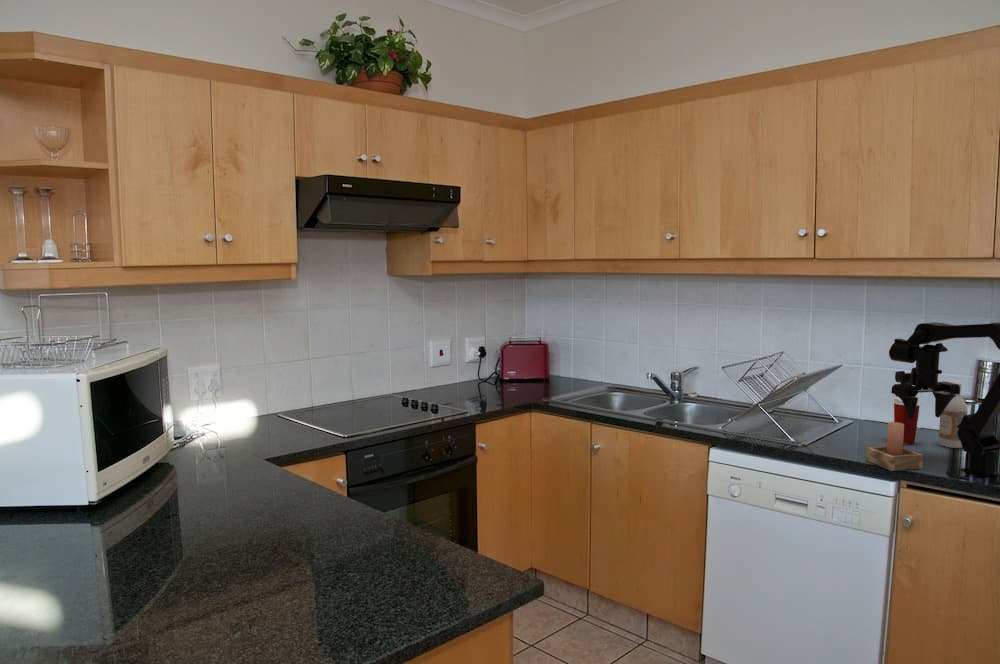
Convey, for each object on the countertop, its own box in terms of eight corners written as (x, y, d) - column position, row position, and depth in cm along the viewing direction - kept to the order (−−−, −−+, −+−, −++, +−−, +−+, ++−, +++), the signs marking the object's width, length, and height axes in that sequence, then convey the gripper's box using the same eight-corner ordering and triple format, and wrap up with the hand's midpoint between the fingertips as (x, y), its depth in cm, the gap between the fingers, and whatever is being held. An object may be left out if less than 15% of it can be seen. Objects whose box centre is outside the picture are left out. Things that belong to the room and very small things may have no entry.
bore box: (922, 468, 198) (923, 454, 198) (891, 471, 196) (892, 457, 196) (895, 458, 208) (896, 445, 207) (865, 460, 206) (866, 447, 205)
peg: (905, 466, 200) (907, 425, 199) (892, 467, 200) (895, 425, 198) (894, 462, 204) (897, 421, 203) (882, 463, 203) (884, 422, 202)
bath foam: (933, 443, 223) (937, 381, 221) (949, 441, 225) (953, 380, 223) (953, 449, 217) (957, 385, 214) (970, 447, 219) (974, 384, 216)
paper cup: (920, 441, 226) (923, 398, 224) (915, 446, 220) (917, 402, 218) (893, 437, 231) (895, 395, 229) (887, 442, 225) (889, 399, 224)
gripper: (932, 360, 215) (929, 410, 217) (879, 362, 211) (876, 413, 213) (963, 365, 204) (959, 418, 206) (907, 368, 200) (904, 422, 202)
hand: (923, 417), depth 207 cm, fingers open, 9 cm apart
